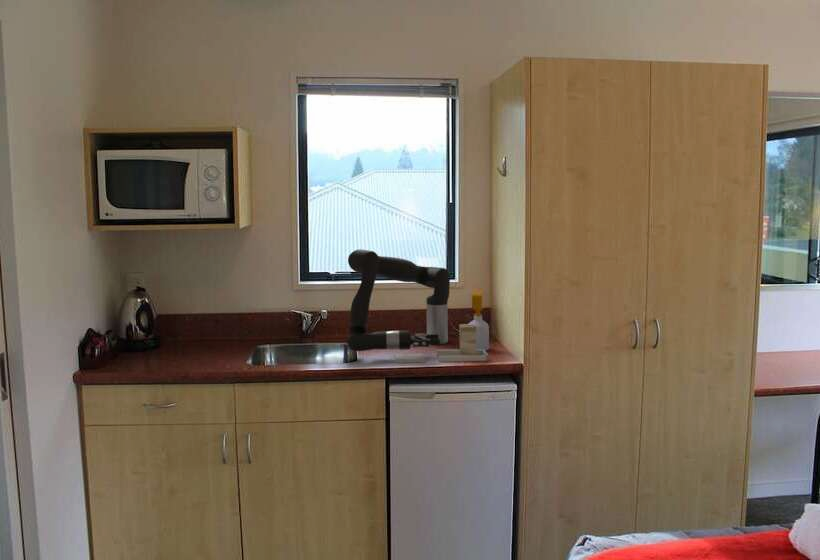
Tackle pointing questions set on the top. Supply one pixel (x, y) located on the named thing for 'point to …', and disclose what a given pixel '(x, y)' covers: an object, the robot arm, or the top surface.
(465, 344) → the birch block
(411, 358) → the grey mat
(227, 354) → the top surface
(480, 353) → the walled channel
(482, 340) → the soap bottle
